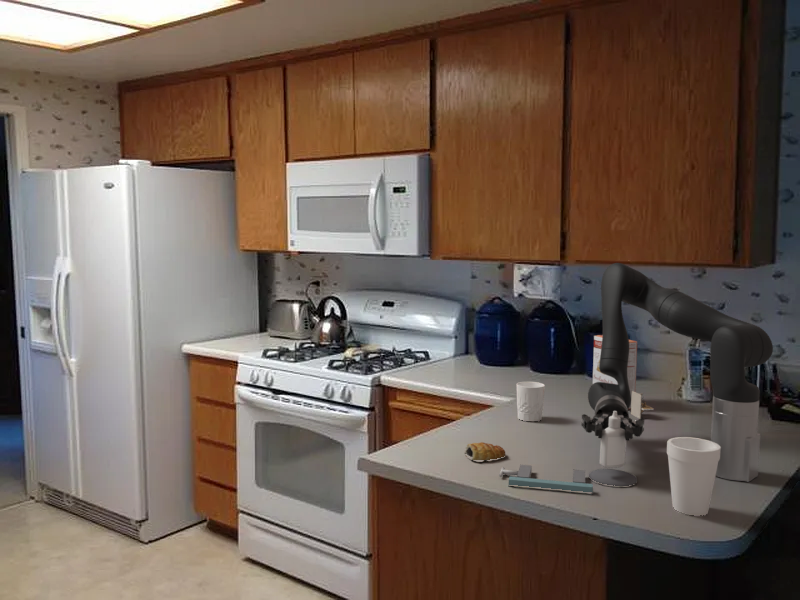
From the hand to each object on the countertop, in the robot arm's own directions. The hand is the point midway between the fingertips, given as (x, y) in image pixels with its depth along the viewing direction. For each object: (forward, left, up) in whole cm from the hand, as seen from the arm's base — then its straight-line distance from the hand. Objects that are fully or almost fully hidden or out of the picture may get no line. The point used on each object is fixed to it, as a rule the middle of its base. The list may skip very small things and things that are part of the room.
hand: (614, 434), depth 154 cm
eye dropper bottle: (+1, -2, -8) cm, 8 cm away
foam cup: (-18, +3, -11) cm, 21 cm away
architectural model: (+22, -57, -11) cm, 62 cm away
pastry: (+30, +6, -11) cm, 32 cm away
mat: (+1, -2, -10) cm, 11 cm away
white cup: (+42, -31, -11) cm, 53 cm away
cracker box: (+34, -64, -11) cm, 73 cm away
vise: (+10, +10, -10) cm, 18 cm away
